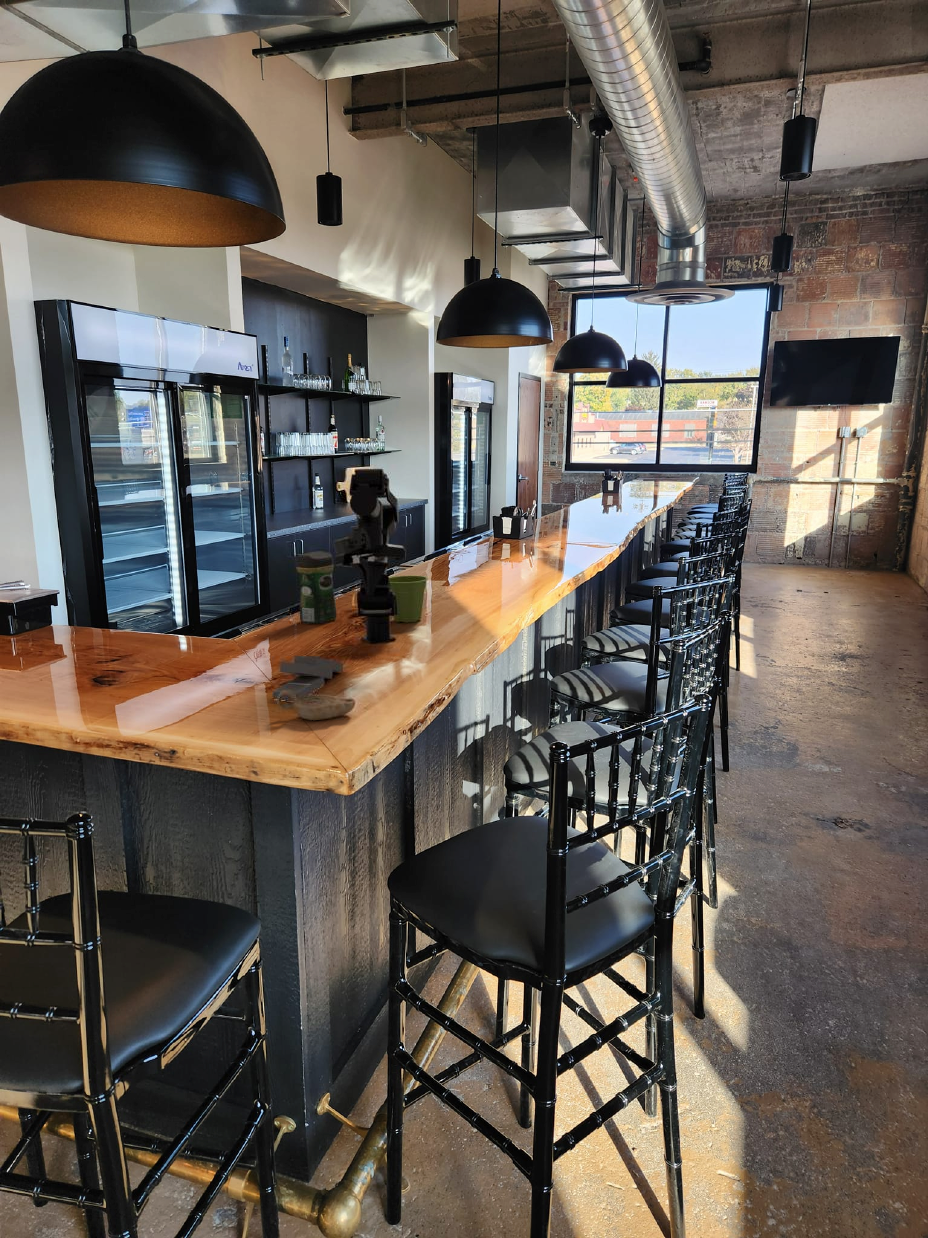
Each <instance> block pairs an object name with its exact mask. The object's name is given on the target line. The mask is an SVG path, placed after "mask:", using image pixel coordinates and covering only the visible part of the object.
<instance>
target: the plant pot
mask: <svg viewBox="0 0 928 1238" xmlns="http://www.w3.org/2000/svg"><path fill="white" fill-rule="evenodd" d="M389 580H390V584H391V590H393V591H394V595H395V596H396V598H397V607H398V614H397V615H394V616H392V617H393V621H395V622H397V623H400V622H402V623H405V624H408V623H409V624H410V623H416V622H418V621H421V619H422V615H423V605H424V604H423V603H424V598H425V590H426V587H427V581H428V580H429V577H427V576H424V575H397V576H391V577H390V576H389Z"/></svg>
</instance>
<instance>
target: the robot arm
mask: <svg viewBox="0 0 928 1238" xmlns="http://www.w3.org/2000/svg"><path fill="white" fill-rule="evenodd" d="M353 472H354V473H352V474H351V476H350V477H351V478H350V482H349V483H350V485H349V493H348V494H349V496H350V500H349V506H350V509H351V511H352V513H354V515H355V516H356V528H354V529H352V530H351V532H349V533H348V536H346V537H343V538H340V539H337V540H334V541H333V542H332V543H333V547H334V550H335V554H336V556H335V566H338V567H339V566H341V567H348V568H349V567H350V568H354V569H355V570H356V571H357V572H358V573H359V576H360V578H361V581H360V587H359V590H357V593H356V594H357V595H356V601H357V602H356V603H357V612H358V613H357V614H358V617H365V618H364V619H365V635H362V636H360V640H363V641H366V642H368V643H369V644H378V643H385V642H391V641H392V642H393V641H396V639H397V637H395V636H392V635H391V625H390V623H391V622H390V620H391V619H390V617H393V616H394V615H397V614H398V607H397V598H396V596H395V595H394V591H393V590H391V584H390V580H389V578H390V576H389V575H388V574H387V570H388V566H390V562H388V558H392V559H395V560H396V561H401V560H406V559H407V558H406V557H407V556H406V555H407V553H406V552H407V551H406V548H405V547H404V546H403V545H399V544H391V543H389V538H390V537H391V536H392V535H393V534H394V533H395V532H396V528H397V523H399V522H400V521H399V518H400V517H399V516H400V515H399V504H398V503H399V502H398V498H397V497H396V495H394V494H393V493H392V492H391V490H390V478H389V477H388V475H387V473H385V471H384V469H383V468H355V469H354V471H353ZM379 499H386V501H387V502H388V503H389V504H383V503H382V501H380V500H379Z"/></svg>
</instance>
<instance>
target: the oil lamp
mask: <svg viewBox="0 0 928 1238" xmlns="http://www.w3.org/2000/svg"><path fill="white" fill-rule="evenodd" d="M284 694H288V695H290V696H291V697H292V699H293V702H291V704H285V703H284V702H282V701H281V696H282V695H284ZM276 704H277V706H278V707H279V708H280V709H281V710H284V711H291V710H295V712H296V714H297V716H298V717H300V718H302V719H304V720H307V719H308V721H312V720H313V721H322V720H327V719H333V717H334V718H338V717H341V716H344V715H347V714H348V713H350V712H351V711H353V709H354V708H355V705H356V699H354V698H352V697H349V698H340V697H339V696H338V695H337V696H336V695H334V696H333V695H328V694H319V693H318V694H311V695H306V696H302V697H299V698H297V697H296V695H295V693H294V692H292V691H291V690H283V691H282V692H280V693H279V695H278V697H277V701H276Z"/></svg>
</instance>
